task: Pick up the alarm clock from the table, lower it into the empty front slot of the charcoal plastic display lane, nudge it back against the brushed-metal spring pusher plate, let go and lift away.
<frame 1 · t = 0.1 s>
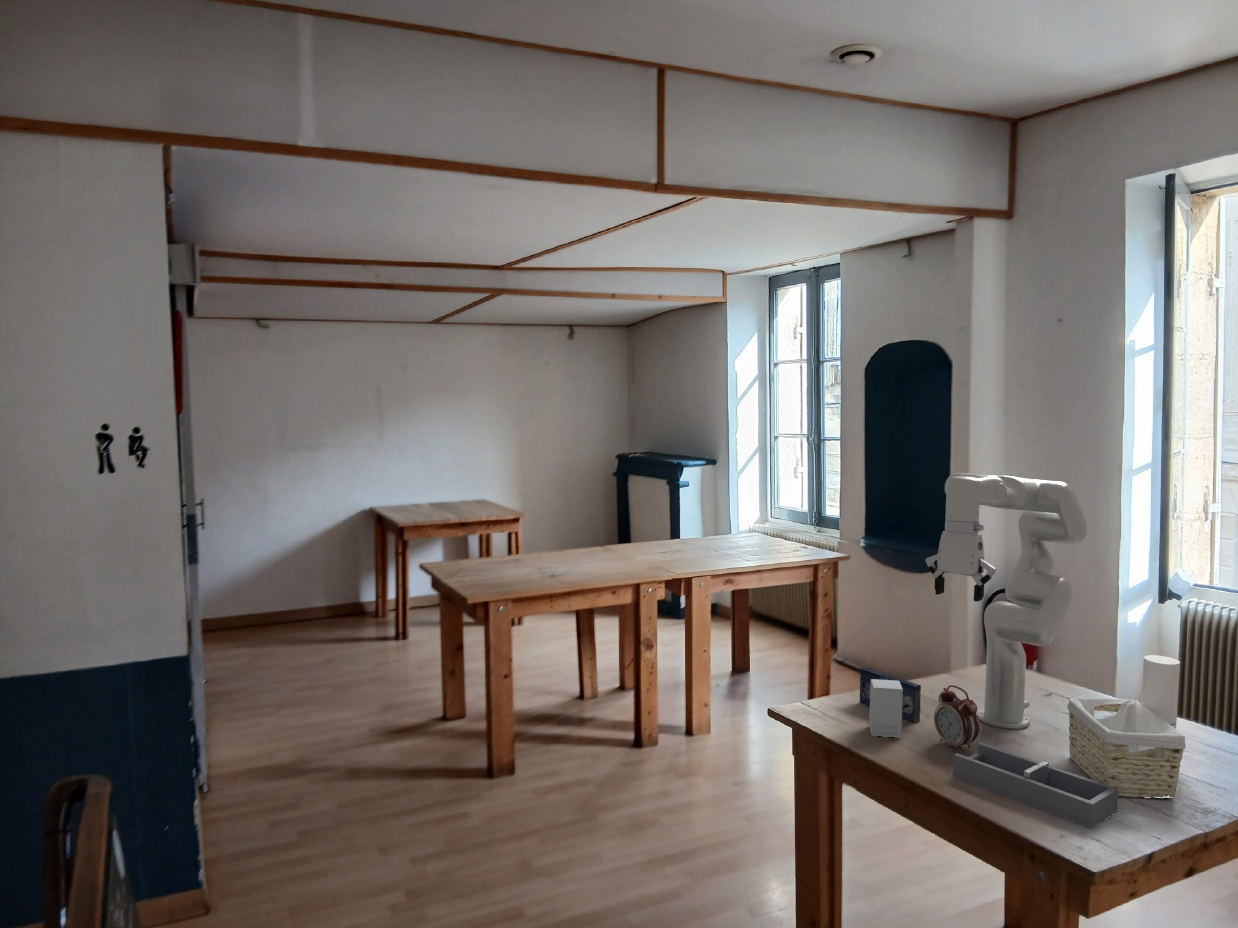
hand: (958, 597, 215), 36 cm above the table, tool pointing down, fingers open, 9 cm apart
pusher plate: (1036, 777, 190), point 4 cm above the table, slide at 0.0 cm
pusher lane: (1031, 793, 190), on the table
vhs cassette tape: (888, 713, 239), on the table
alarm clock: (955, 747, 215), on the table
storage basket: (1119, 778, 199), on the table
cylindrical container: (1155, 765, 206), on the table
supplement box: (884, 732, 224), on the table
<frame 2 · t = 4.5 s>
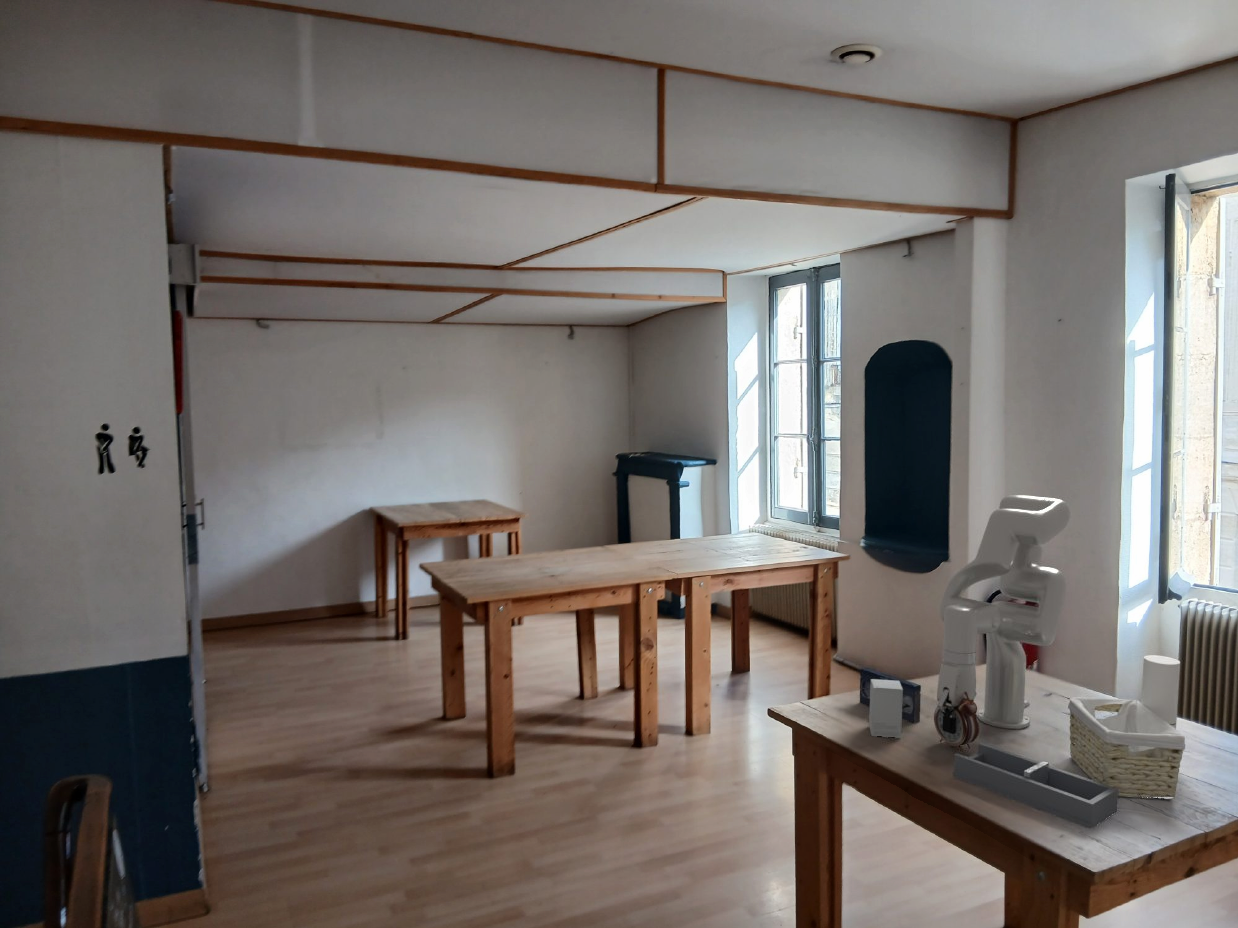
hand: (956, 728, 215), 5 cm above the table, tool pointing down, fingers closed on alarm clock, 5 cm apart
alarm clock: (955, 747, 215), on the table, touching gripper
everything else where it was.
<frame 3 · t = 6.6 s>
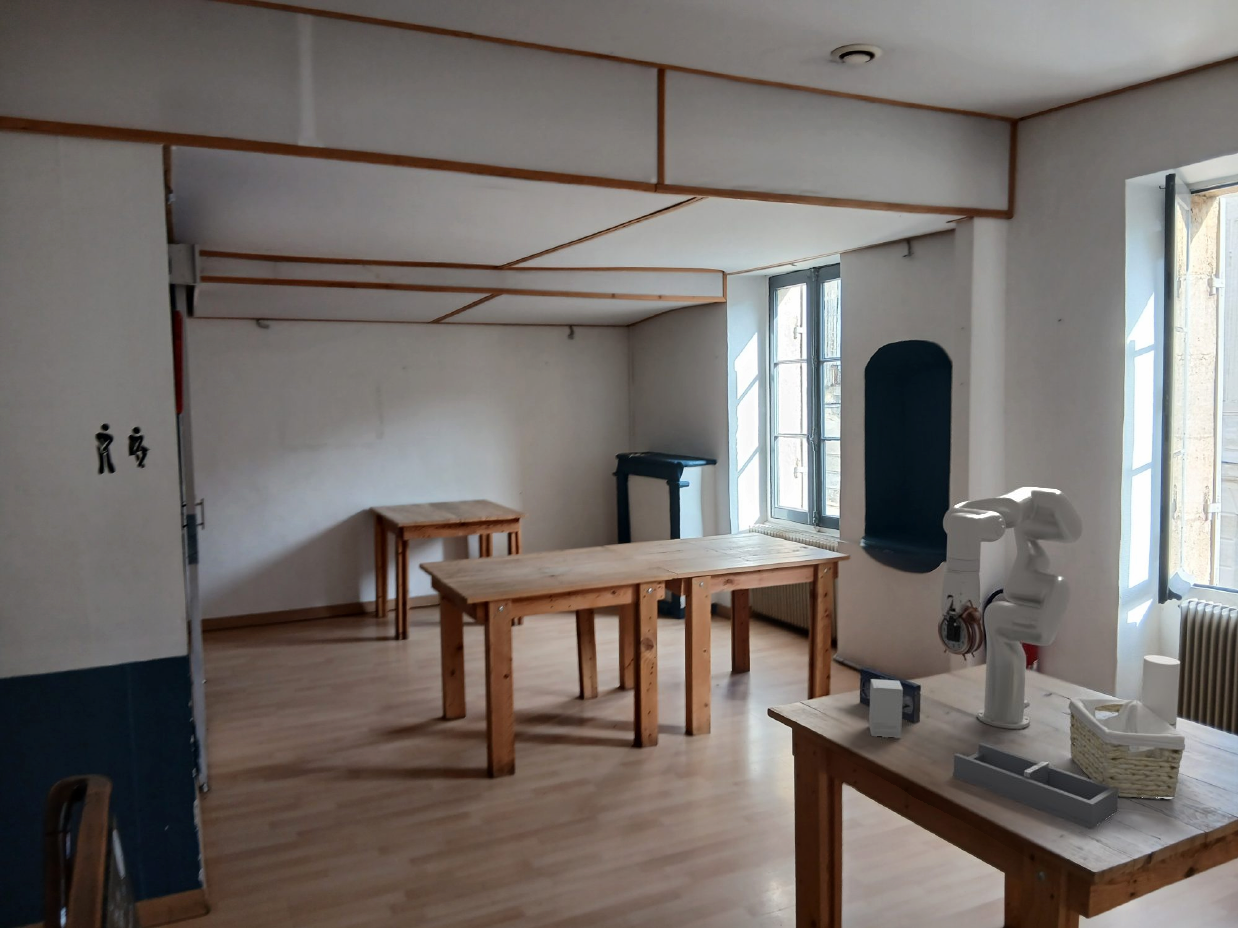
hand: (960, 637, 213), 27 cm above the table, tool pointing down, fingers closed on alarm clock, 5 cm apart
alarm clock: (959, 657, 214), point 22 cm above the table, touching gripper
everything else where it was.
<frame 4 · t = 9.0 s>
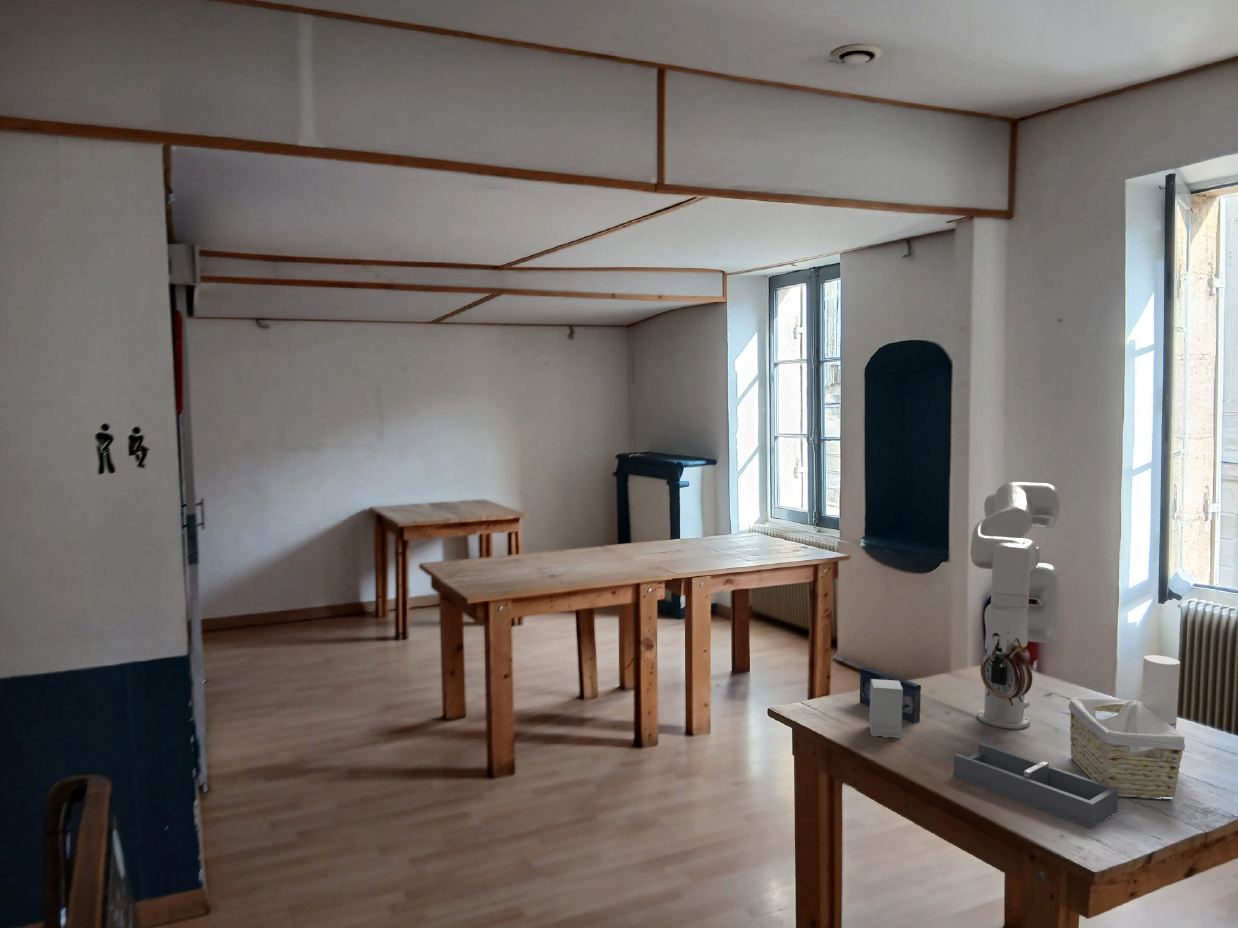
hand: (1006, 680, 194), 23 cm above the table, tool pointing down, fingers closed on alarm clock, 5 cm apart
alarm clock: (1005, 700, 194), point 18 cm above the table, touching gripper
everything else where it was.
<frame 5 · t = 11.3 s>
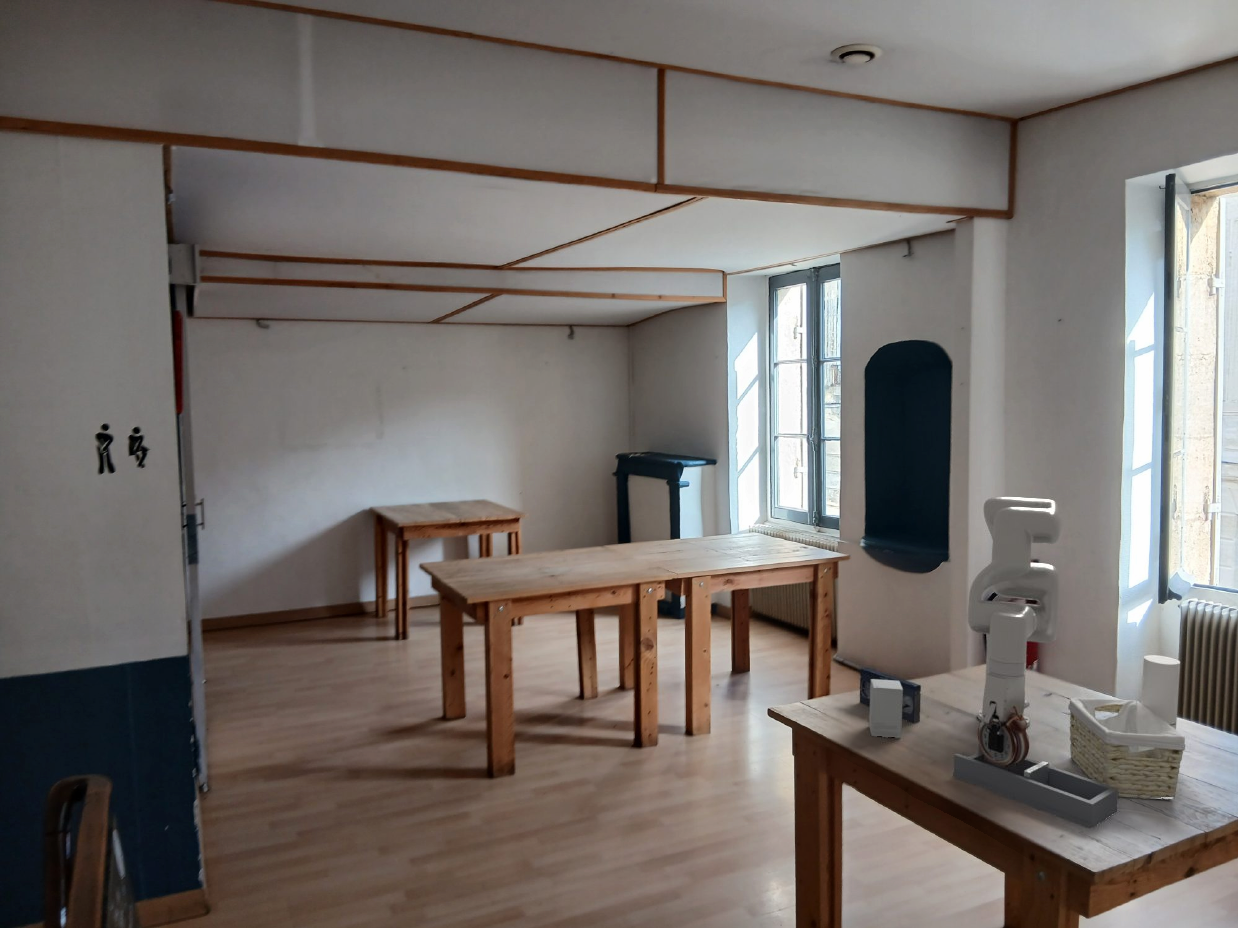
hand: (1003, 746, 195), 8 cm above the table, tool pointing down, fingers closed on alarm clock, 5 cm apart
alarm clock: (1002, 766, 196), point 3 cm above the table, touching gripper
everything else where it was.
when the fingers open (7 cm above the table, at t = 13.5 s): alarm clock moves 1 cm, resting on pusher plate.
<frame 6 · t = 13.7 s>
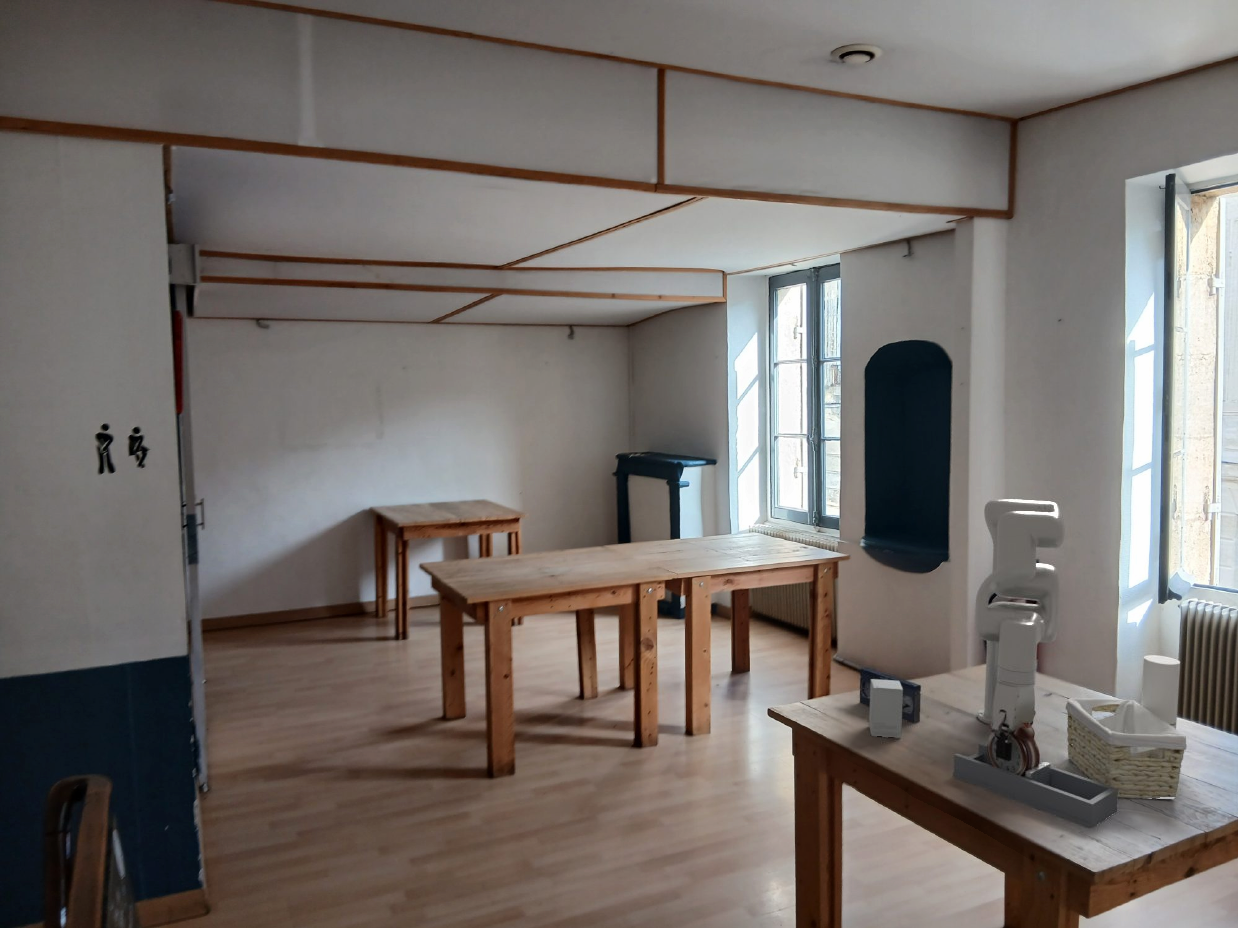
hand: (1012, 753, 193), 7 cm above the table, tool pointing down, fingers open, 7 cm apart
pusher plate: (1037, 778, 189), point 4 cm above the table, slide at 0.3 cm, touching alarm clock
alarm clock: (1015, 780, 193), point 1 cm above the table, touching pusher plate
everything else where it was.
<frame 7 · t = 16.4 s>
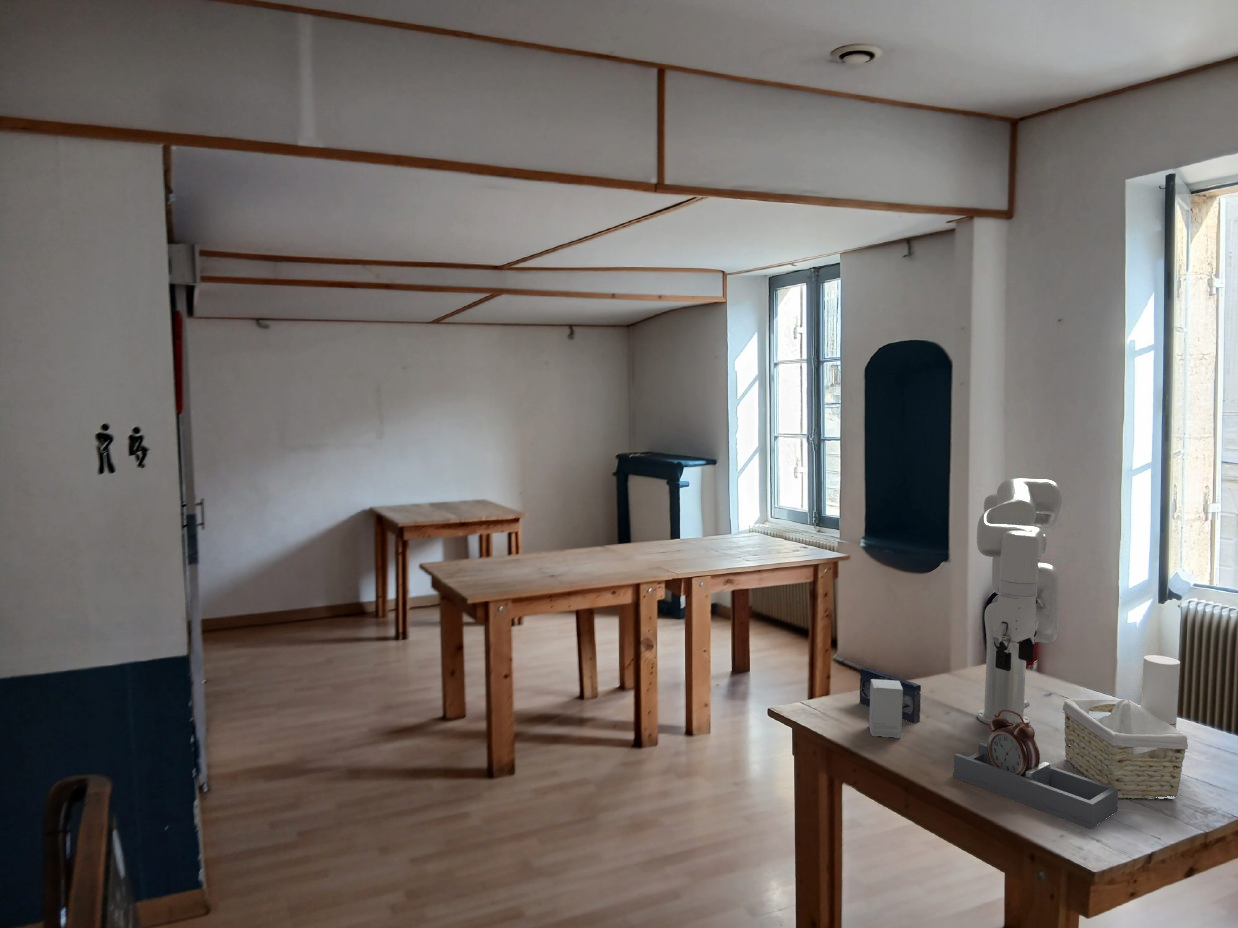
hand: (1014, 664, 193), 27 cm above the table, tool pointing down, fingers open, 9 cm apart
alarm clock: (1015, 780, 193), point 1 cm above the table, touching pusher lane, pusher plate
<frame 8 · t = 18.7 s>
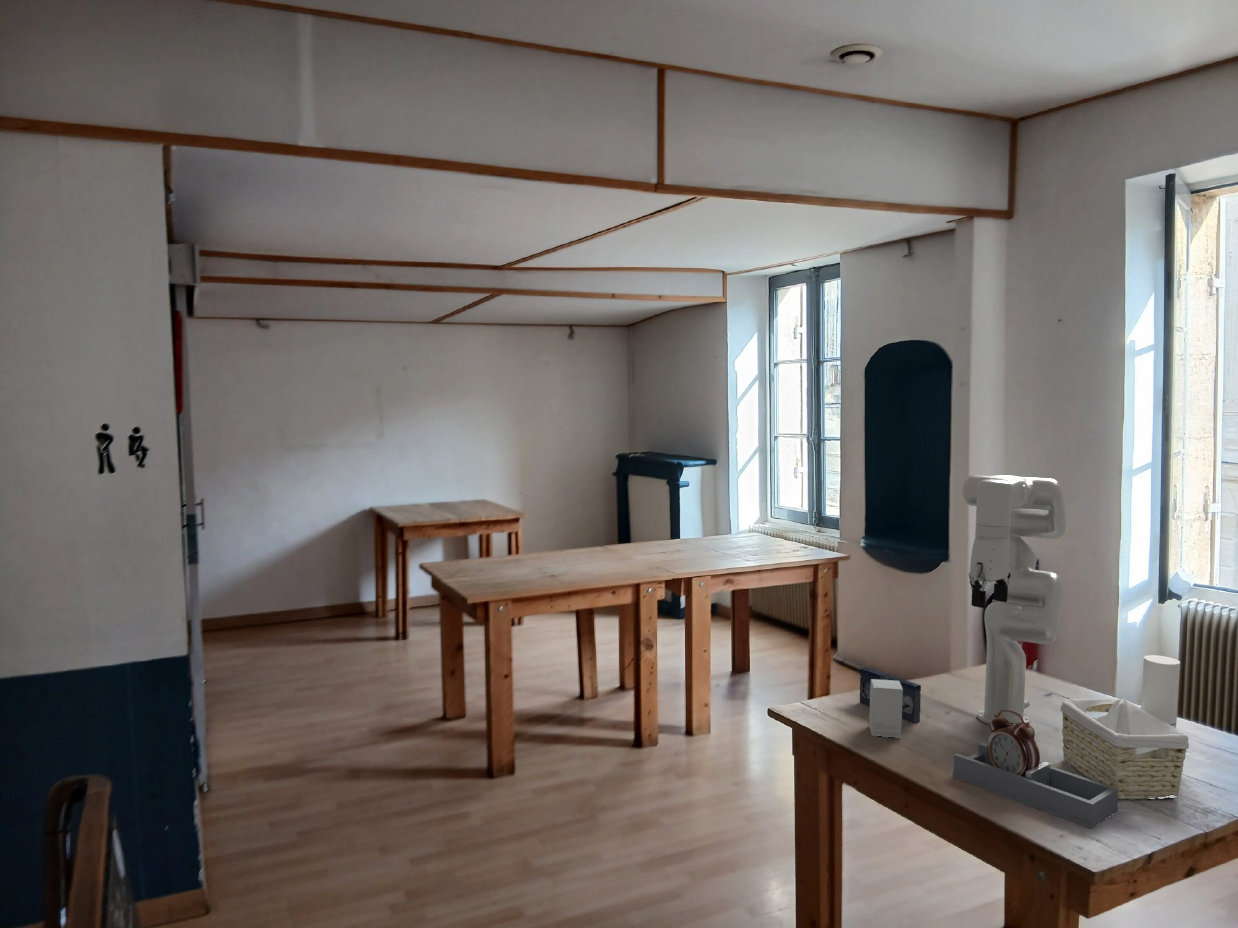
hand: (989, 603, 209), 36 cm above the table, tool pointing down, fingers open, 9 cm apart
at the end: alarm clock inside the target area on the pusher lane (4.4 cm from its centre), point 1.4 cm above the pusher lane's base; alarm clock tilted 10°; the gripper is holding nothing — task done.
